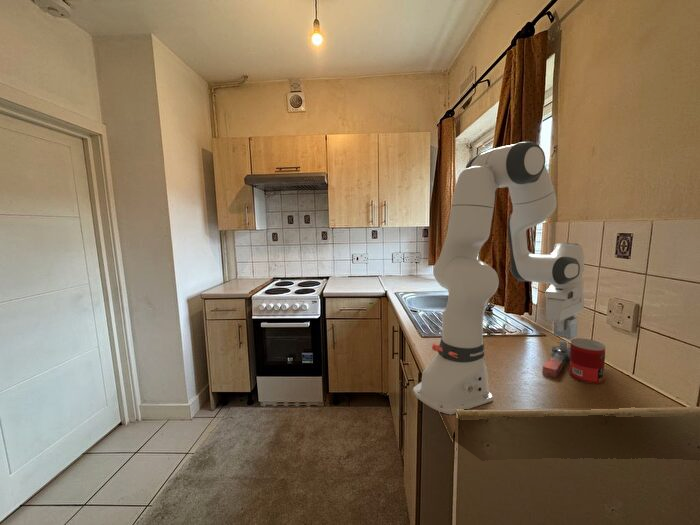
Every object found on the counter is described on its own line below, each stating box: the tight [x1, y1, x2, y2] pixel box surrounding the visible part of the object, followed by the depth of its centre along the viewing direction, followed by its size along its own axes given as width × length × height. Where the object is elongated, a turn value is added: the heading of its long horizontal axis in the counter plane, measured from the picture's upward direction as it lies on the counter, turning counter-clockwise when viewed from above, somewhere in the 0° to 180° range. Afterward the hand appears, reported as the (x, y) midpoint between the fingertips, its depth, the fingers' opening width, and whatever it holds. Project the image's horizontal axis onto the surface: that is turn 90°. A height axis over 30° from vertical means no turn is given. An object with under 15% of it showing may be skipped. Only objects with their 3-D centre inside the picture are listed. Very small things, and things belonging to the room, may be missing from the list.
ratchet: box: [542, 339, 570, 379], centre depth 95 cm, size 22×7×6 cm, turn 132°
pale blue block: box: [553, 317, 578, 340], centre depth 99 cm, size 5×5×6 cm
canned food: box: [569, 337, 606, 385], centre depth 86 cm, size 8×8×11 cm
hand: (565, 328), depth 99 cm, fingers closed on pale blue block, 5 cm apart
